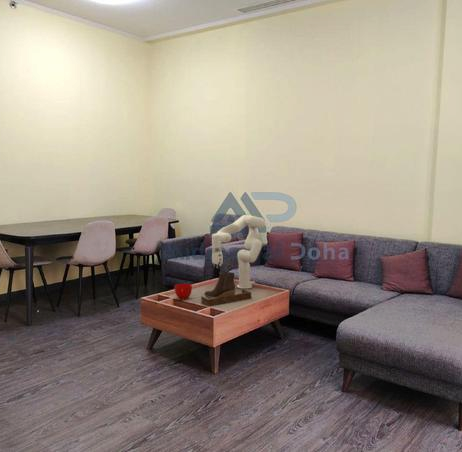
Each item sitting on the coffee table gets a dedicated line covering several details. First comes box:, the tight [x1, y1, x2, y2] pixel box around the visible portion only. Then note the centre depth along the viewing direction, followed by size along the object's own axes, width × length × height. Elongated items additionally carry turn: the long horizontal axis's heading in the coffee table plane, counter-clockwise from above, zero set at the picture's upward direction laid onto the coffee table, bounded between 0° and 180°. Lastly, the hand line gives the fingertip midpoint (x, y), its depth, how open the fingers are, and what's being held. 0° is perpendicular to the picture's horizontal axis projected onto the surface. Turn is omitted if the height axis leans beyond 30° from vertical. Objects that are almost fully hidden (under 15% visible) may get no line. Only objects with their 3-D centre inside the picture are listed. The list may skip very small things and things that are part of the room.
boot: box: [203, 271, 236, 299], centre depth 346 cm, size 9×24×20 cm, turn 84°
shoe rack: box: [200, 289, 252, 307], centre depth 339 cm, size 37×11×5 cm, turn 124°
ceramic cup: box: [174, 283, 193, 301], centre depth 343 cm, size 13×17×10 cm
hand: (217, 272), depth 357 cm, fingers closed
